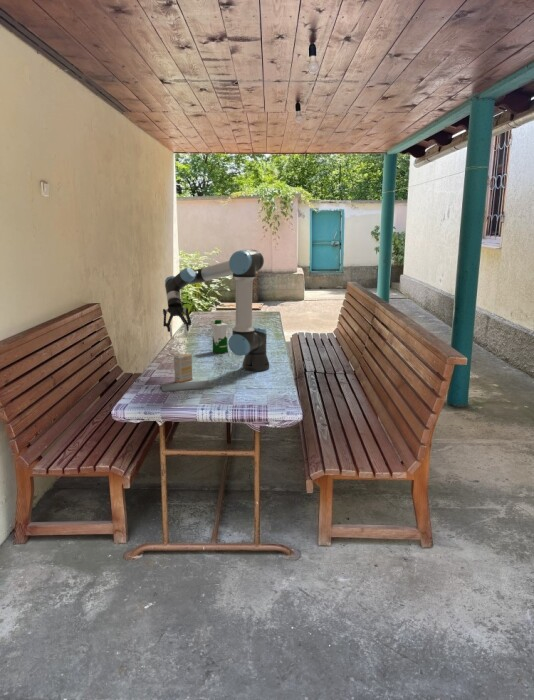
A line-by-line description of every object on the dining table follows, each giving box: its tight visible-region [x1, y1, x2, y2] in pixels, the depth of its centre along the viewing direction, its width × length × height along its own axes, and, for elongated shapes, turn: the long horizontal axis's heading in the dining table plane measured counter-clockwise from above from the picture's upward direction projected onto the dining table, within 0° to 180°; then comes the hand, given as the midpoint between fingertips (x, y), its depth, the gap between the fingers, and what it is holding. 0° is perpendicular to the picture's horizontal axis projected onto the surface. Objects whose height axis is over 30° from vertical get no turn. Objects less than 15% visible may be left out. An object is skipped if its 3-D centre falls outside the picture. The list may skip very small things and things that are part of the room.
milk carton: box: [211, 319, 229, 354], centre depth 331 cm, size 9×9×20 cm
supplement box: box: [173, 353, 193, 383], centre depth 267 cm, size 8×5×13 cm, turn 141°
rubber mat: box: [160, 380, 214, 393], centre depth 257 cm, size 24×12×1 cm, turn 106°
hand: (179, 335), depth 276 cm, fingers open, 7 cm apart
